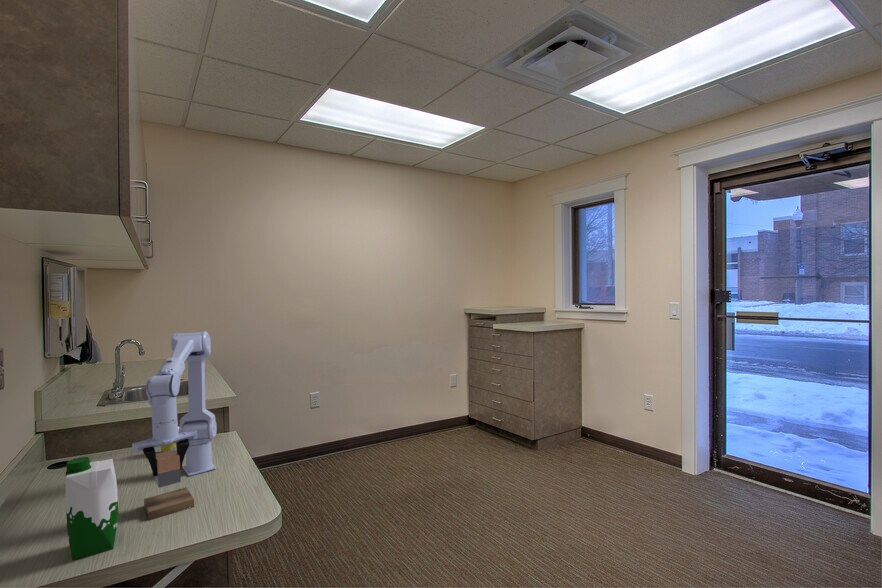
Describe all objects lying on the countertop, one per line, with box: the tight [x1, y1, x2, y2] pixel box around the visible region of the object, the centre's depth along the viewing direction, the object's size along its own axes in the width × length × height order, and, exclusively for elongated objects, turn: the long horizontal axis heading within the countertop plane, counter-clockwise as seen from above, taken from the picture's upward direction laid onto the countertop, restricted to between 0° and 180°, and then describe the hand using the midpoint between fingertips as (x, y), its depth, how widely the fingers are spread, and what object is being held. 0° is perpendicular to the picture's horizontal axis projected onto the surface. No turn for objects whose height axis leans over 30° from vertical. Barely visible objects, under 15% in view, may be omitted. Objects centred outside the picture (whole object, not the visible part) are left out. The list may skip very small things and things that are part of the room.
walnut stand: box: [143, 487, 195, 521], centre depth 120 cm, size 10×10×2 cm
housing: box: [154, 450, 182, 489], centre depth 120 cm, size 5×6×7 cm
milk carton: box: [65, 456, 119, 561], centre depth 102 cm, size 9×9×20 cm
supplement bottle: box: [160, 426, 180, 453], centre depth 163 cm, size 6×6×11 cm
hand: (167, 472), depth 120 cm, fingers closed on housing, 5 cm apart
